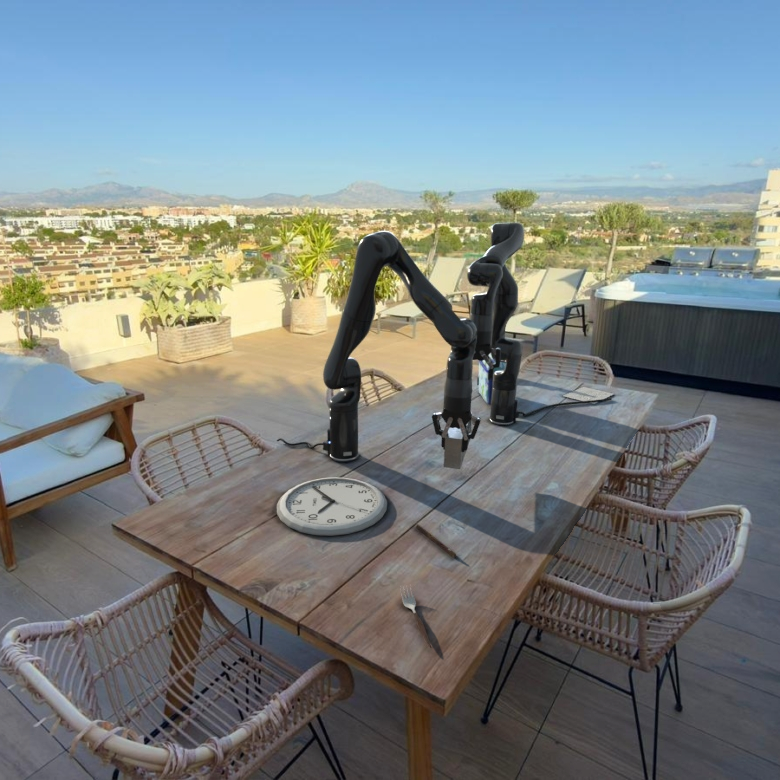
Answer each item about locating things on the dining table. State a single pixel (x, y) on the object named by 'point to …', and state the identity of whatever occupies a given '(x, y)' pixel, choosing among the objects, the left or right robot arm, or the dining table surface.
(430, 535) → the brown wooden stick
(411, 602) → the fork
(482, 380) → the lunch box
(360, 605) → the dining table surface
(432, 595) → the dining table surface
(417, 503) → the dining table surface
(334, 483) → the wall clock
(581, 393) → the invitation card
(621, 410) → the dining table surface
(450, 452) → the bar
